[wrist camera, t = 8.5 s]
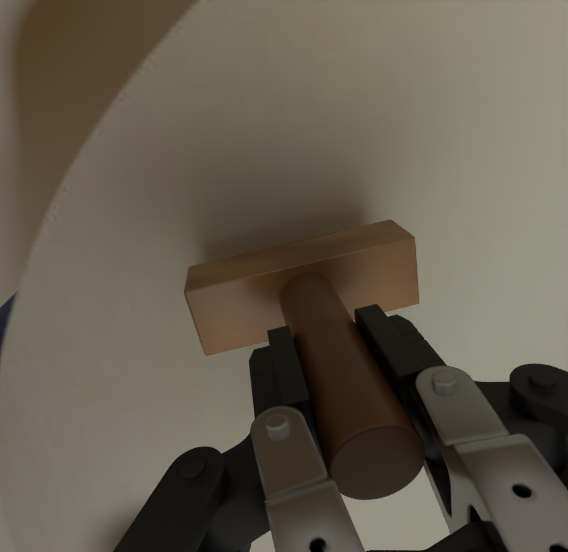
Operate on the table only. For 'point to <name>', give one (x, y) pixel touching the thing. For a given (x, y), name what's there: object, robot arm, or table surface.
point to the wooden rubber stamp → (325, 340)
